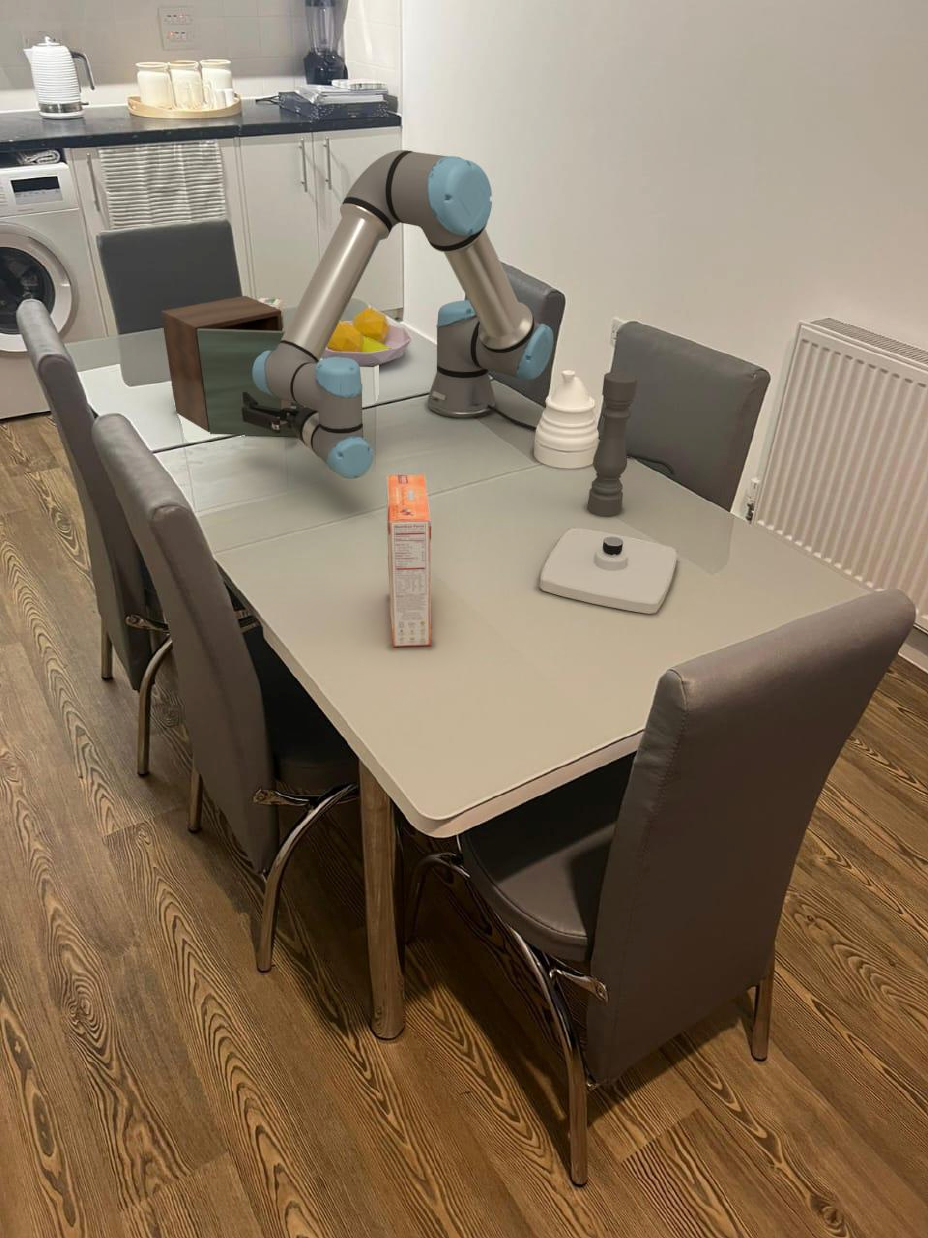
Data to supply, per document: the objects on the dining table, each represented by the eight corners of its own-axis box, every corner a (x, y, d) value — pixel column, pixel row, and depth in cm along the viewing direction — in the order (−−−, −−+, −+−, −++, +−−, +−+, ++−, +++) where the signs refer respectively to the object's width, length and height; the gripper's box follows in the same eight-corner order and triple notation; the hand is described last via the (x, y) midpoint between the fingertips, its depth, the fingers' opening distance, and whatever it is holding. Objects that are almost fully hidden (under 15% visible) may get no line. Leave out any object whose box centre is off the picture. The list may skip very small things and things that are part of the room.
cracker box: (388, 596, 145) (385, 472, 134) (426, 595, 146) (427, 472, 134) (389, 648, 134) (387, 518, 122) (431, 647, 134) (433, 518, 123)
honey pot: (579, 474, 185) (588, 385, 175) (522, 458, 190) (528, 371, 180) (606, 452, 194) (617, 367, 184) (551, 437, 199) (558, 354, 189)
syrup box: (283, 363, 233) (278, 304, 225) (259, 362, 233) (254, 303, 225) (287, 355, 238) (282, 297, 230) (263, 354, 238) (258, 296, 230)
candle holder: (623, 504, 174) (642, 373, 160) (617, 519, 169) (635, 385, 155) (591, 498, 176) (606, 368, 162) (583, 513, 171) (599, 380, 157)
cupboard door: (301, 450, 190) (293, 344, 178) (202, 447, 189) (188, 340, 177) (306, 434, 196) (299, 331, 184) (211, 431, 196) (198, 328, 184)
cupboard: (289, 410, 208) (281, 310, 195) (208, 432, 196) (195, 327, 184) (254, 392, 216) (245, 295, 204) (175, 412, 204) (160, 310, 192)
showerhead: (532, 591, 148) (658, 618, 142) (535, 557, 144) (664, 584, 139) (565, 535, 163) (680, 558, 158) (569, 503, 160) (686, 526, 155)
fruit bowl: (431, 364, 236) (431, 319, 229) (335, 383, 222) (333, 336, 216) (375, 335, 254) (374, 292, 248) (284, 350, 241) (281, 306, 235)
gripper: (257, 462, 168) (218, 421, 183) (381, 437, 178) (336, 401, 193) (253, 422, 163) (214, 384, 178) (381, 399, 174) (334, 365, 189)
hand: (277, 392), depth 186 cm, fingers open, 13 cm apart
